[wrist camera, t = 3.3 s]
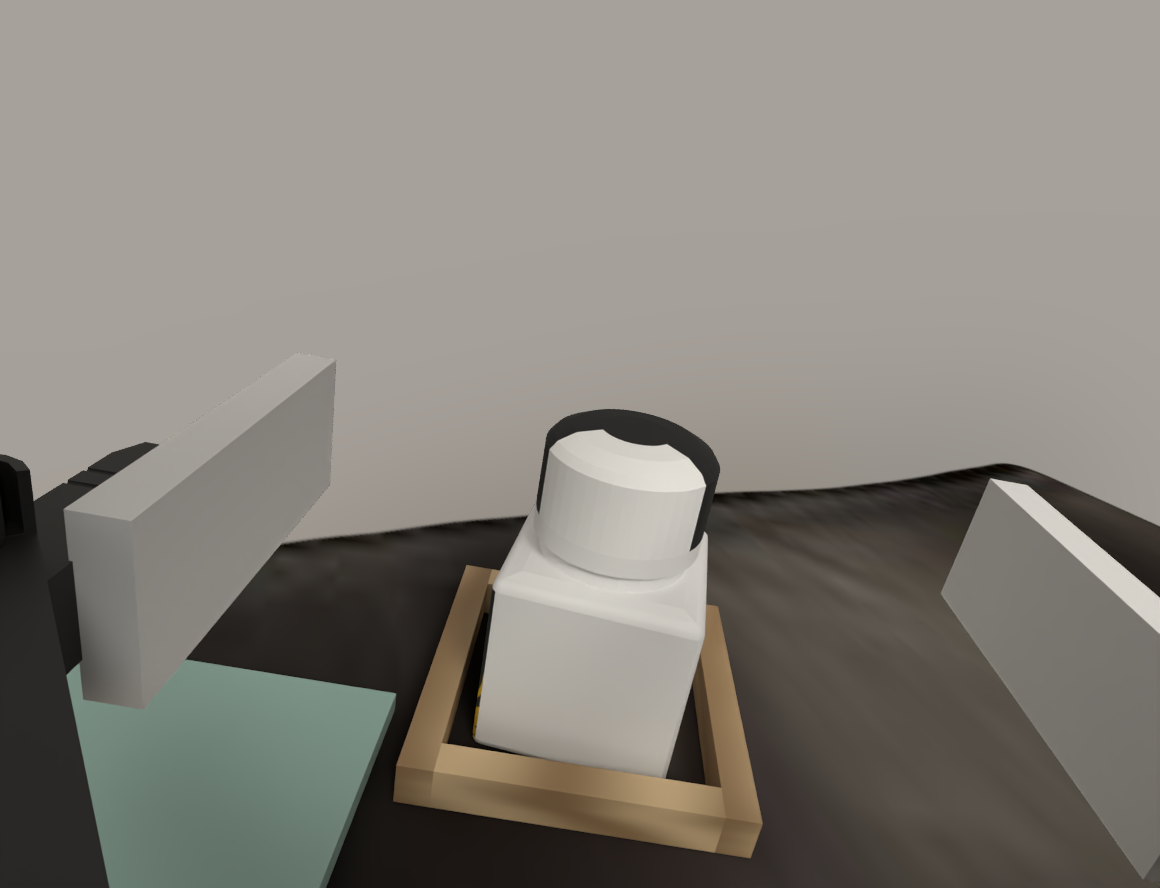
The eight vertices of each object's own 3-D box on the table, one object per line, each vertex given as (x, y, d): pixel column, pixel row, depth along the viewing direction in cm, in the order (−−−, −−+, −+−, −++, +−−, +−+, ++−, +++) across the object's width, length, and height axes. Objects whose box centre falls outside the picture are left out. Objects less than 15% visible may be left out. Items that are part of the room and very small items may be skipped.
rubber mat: (394, 710, 28) (396, 693, 28) (285, 993, 19) (284, 973, 19) (48, 654, 28) (46, 637, 28) (-234, 913, 19) (-242, 892, 18)
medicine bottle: (517, 629, 34) (556, 379, 29) (673, 667, 33) (739, 417, 28) (468, 745, 27) (509, 446, 22) (661, 796, 26) (745, 498, 22)
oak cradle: (710, 634, 36) (717, 606, 35) (750, 858, 25) (762, 823, 24) (463, 593, 35) (466, 565, 35) (393, 801, 24) (396, 765, 24)
